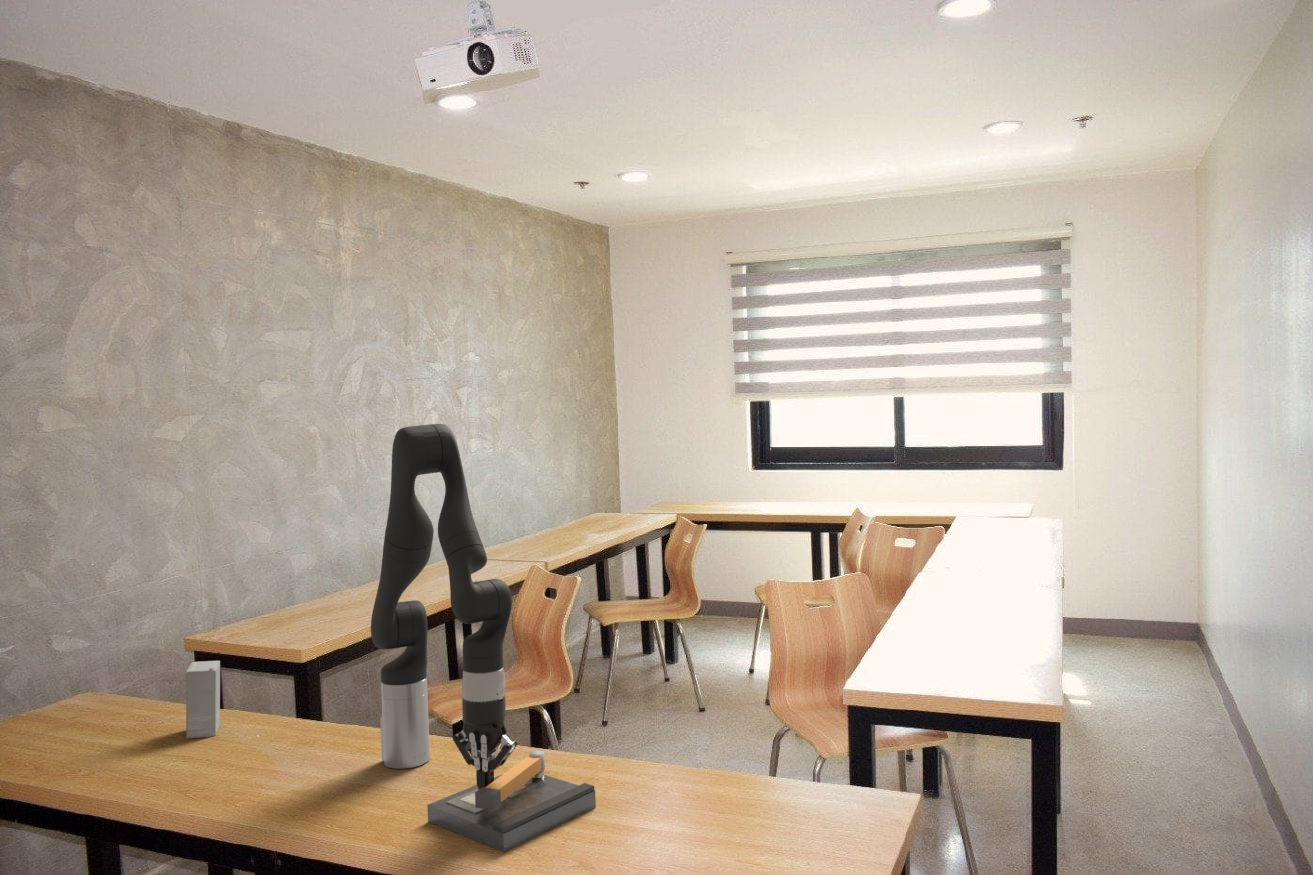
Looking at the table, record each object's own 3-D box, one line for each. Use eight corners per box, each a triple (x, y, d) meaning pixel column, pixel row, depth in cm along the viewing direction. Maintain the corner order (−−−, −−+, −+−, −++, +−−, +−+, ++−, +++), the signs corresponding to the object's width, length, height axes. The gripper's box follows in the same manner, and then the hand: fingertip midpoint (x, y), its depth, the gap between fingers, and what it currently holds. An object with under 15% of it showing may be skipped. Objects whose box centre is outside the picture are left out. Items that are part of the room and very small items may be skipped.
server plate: (427, 821, 171) (427, 799, 171) (521, 781, 188) (520, 762, 188) (503, 852, 159) (503, 828, 158) (596, 806, 176) (595, 785, 176)
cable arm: (475, 808, 166) (474, 791, 166) (532, 765, 185) (531, 750, 185) (493, 811, 165) (493, 793, 165) (549, 767, 184) (548, 751, 184)
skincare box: (190, 728, 227) (187, 661, 226) (224, 724, 229) (221, 658, 229) (184, 740, 219) (181, 670, 218) (219, 736, 221) (216, 667, 221)
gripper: (440, 694, 171) (442, 791, 172) (501, 704, 165) (503, 804, 166) (466, 683, 178) (468, 776, 178) (526, 692, 172) (528, 788, 172)
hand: (485, 789), depth 172 cm, fingers closed
